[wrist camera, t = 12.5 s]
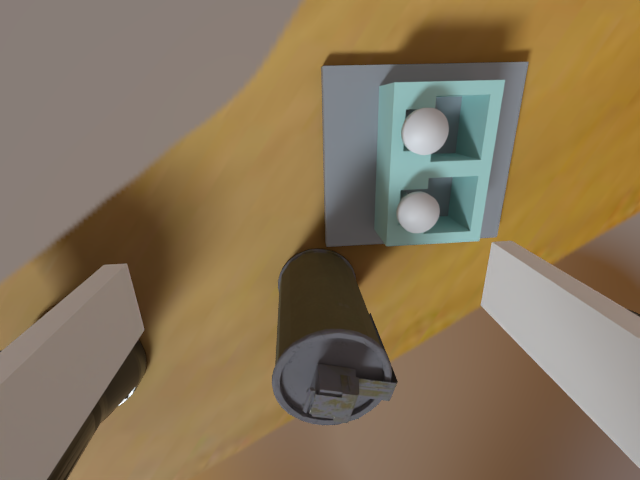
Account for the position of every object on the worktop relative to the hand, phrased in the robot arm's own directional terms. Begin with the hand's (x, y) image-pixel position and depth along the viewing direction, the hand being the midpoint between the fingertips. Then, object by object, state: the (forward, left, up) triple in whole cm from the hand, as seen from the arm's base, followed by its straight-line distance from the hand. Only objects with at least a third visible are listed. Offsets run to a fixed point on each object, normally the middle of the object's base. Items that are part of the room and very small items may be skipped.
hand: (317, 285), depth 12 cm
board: (+14, 0, -29) cm, 32 cm away
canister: (+2, -16, -29) cm, 33 cm away
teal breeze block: (+14, 0, -27) cm, 31 cm away
